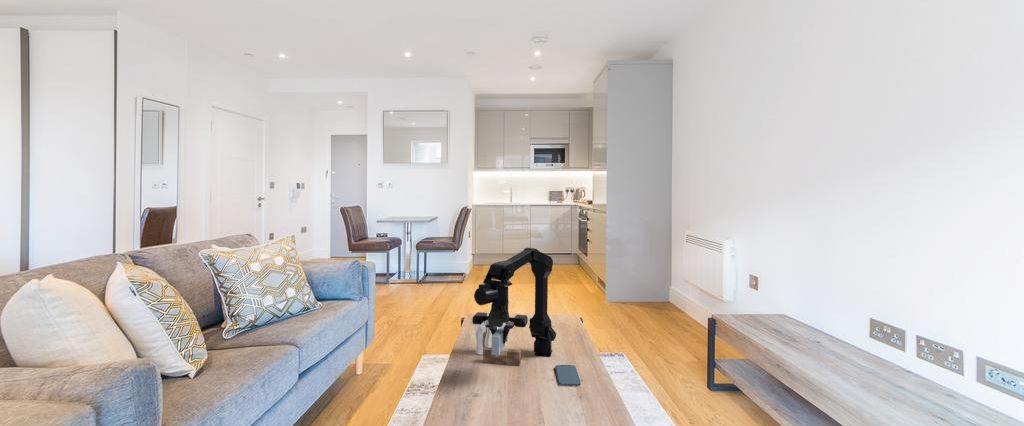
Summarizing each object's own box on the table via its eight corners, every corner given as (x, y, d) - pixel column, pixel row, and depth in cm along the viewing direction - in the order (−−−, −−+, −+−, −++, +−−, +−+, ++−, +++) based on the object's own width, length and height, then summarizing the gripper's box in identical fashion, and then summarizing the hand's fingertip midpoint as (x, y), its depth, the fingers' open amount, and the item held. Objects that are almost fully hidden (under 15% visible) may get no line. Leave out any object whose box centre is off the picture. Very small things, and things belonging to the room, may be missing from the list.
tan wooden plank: (520, 363, 160) (520, 350, 160) (519, 365, 158) (519, 352, 157) (484, 360, 163) (484, 347, 163) (483, 362, 160) (483, 349, 160)
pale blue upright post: (507, 341, 155) (507, 325, 155) (498, 355, 142) (498, 337, 141) (501, 340, 156) (501, 324, 156) (491, 354, 142) (491, 336, 142)
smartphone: (558, 383, 141) (554, 364, 156) (558, 388, 141) (554, 368, 156) (581, 384, 141) (575, 364, 155) (581, 389, 141) (575, 369, 156)
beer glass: (489, 356, 167) (489, 318, 166) (472, 354, 168) (472, 317, 168) (493, 349, 174) (493, 313, 173) (477, 348, 175) (477, 312, 175)
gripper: (467, 303, 142) (467, 349, 143) (522, 307, 138) (522, 354, 139) (476, 296, 153) (477, 339, 154) (528, 298, 149) (527, 342, 150)
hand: (500, 343), depth 149 cm, fingers closed on pale blue upright post, 2 cm apart
